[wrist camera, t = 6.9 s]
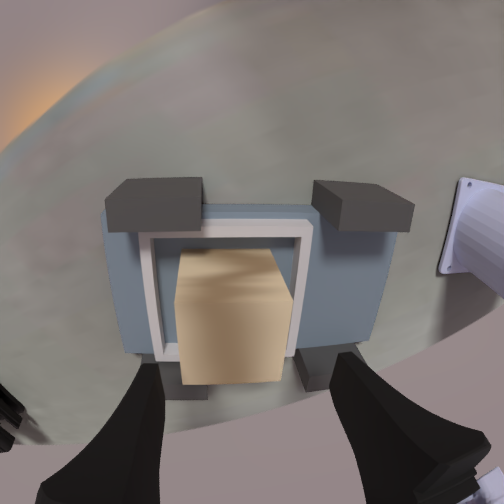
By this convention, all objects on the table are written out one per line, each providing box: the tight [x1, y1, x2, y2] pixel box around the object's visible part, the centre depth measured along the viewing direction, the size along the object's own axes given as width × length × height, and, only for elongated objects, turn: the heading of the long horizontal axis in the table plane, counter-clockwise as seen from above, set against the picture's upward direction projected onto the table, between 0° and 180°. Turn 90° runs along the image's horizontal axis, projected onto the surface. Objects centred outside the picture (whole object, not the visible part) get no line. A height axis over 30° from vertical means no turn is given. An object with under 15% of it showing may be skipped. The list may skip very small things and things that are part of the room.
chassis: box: [101, 177, 415, 400], centre depth 19 cm, size 18×13×4 cm
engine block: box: [174, 249, 293, 385], centre depth 17 cm, size 5×5×6 cm
